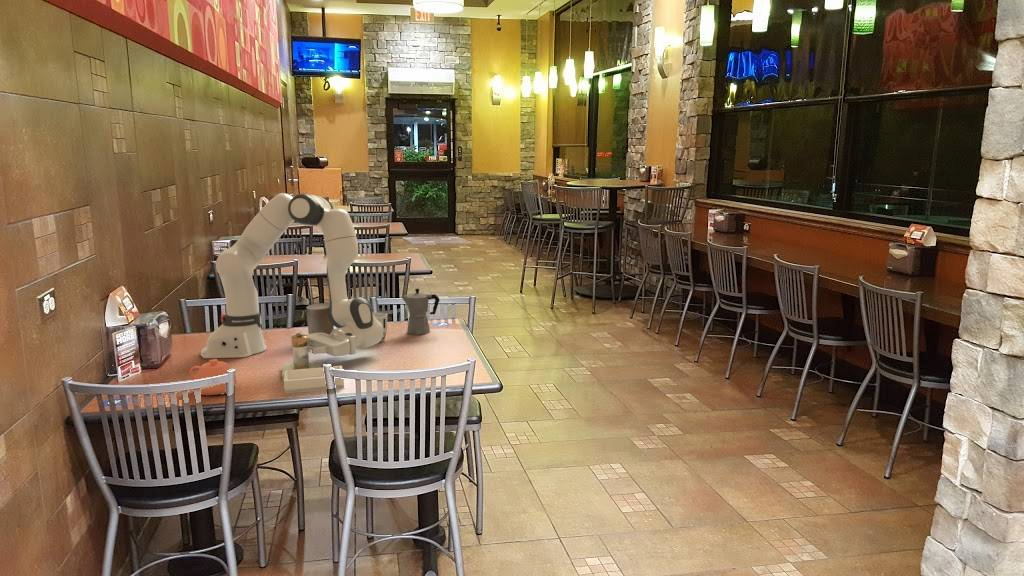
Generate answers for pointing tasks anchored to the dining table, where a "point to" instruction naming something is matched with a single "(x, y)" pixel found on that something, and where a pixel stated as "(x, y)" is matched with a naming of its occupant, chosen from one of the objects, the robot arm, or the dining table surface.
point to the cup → (382, 322)
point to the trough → (308, 380)
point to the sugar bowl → (212, 370)
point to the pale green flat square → (290, 367)
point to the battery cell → (300, 351)
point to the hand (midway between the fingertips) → (305, 348)
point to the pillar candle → (319, 319)
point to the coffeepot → (419, 311)
